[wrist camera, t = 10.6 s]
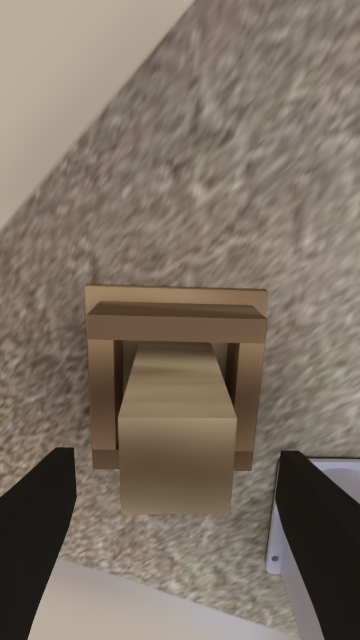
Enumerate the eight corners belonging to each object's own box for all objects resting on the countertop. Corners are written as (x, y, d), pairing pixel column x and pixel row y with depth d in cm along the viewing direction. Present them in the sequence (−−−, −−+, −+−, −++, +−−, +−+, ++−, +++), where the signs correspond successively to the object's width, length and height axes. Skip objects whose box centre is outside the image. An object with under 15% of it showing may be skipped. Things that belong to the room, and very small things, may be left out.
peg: (207, 403, 20) (230, 513, 12) (140, 403, 20) (121, 514, 12) (210, 340, 19) (237, 418, 11) (139, 340, 19) (117, 417, 11)
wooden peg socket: (249, 442, 21) (264, 483, 18) (93, 440, 21) (78, 481, 18) (265, 289, 19) (286, 303, 15) (87, 284, 18) (67, 297, 15)
